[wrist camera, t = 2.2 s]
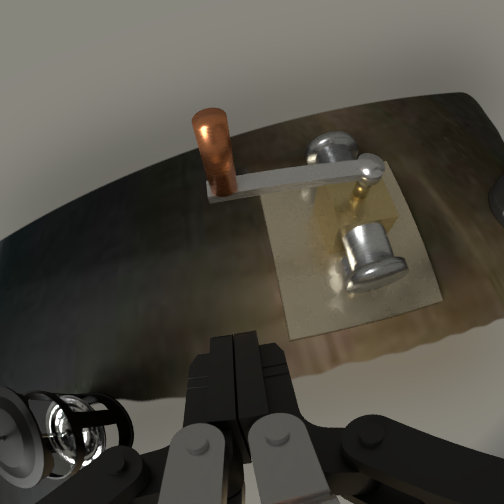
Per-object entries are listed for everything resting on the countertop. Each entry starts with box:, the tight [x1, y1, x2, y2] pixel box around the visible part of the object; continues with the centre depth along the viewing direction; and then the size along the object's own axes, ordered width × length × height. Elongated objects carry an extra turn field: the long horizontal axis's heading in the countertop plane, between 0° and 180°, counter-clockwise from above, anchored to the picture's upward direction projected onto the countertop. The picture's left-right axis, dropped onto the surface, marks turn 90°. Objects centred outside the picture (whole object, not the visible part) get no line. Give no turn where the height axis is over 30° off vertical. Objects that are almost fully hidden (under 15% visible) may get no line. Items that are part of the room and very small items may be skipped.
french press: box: [0, 386, 134, 488], centre depth 19 cm, size 12×9×23 cm
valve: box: [259, 131, 443, 342], centre depth 33 cm, size 20×22×12 cm
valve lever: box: [192, 108, 385, 203], centre depth 24 cm, size 17×3×9 cm, turn 99°
